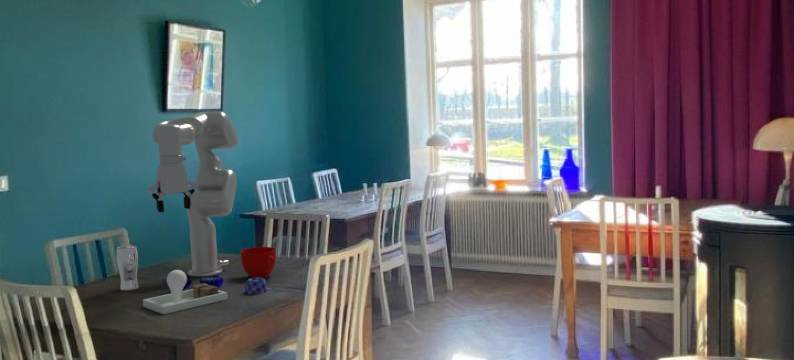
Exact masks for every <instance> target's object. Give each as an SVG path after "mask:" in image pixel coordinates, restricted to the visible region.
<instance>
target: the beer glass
mask: <svg viewBox="0 0 794 360" xmlns="http://www.w3.org/2000/svg"><path fill="white" fill-rule="evenodd" d="M138 260H139V256H138V249H137V246H136V245H133V244H132V245H122V246H118V247H116V263H117V269H118V272H119V276H120V287H119V288H120V291H125V292H126V291H133V290H137V289H139V283H138V279H137V278H138V276H137V275H138V266H139V265H138V263H139V261H138Z"/></svg>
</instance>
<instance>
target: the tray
mask: <svg viewBox="0 0 794 360" xmlns="http://www.w3.org/2000/svg"><path fill="white" fill-rule="evenodd" d="M228 297H229V296H228V292H226V291H223V290H220V289H218V294H215V295H210V296H206V297H201V298H195V297H194V294H193V288H191V289H187V290H182V296H181V302H179V303H173V302H172V295H171V293H168V294H163V295H158V296H154V297H149V298H145V299H144V298H143V299H142V305H143V308H145V309H149V310H151V311H153V312H156V313H159V314H162V315H167V314H171V313H175V312H179V311H184V310H189V309H192V308H197V307H201V306H206V305H209V304H215V303H219V302H223V301H227V300H228Z"/></svg>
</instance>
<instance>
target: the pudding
mask: <svg viewBox="0 0 794 360" xmlns="http://www.w3.org/2000/svg"><path fill="white" fill-rule="evenodd" d="M269 290H272V288H270V287H268V285H267V281H266V279H265V278H260V277H259V278H251V277H250V278H248V279H247V280H246V283H245V289H244V293H246V294H250V295H257V294H259V295H261V294H264V293H266V292H268V291H269Z"/></svg>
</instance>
